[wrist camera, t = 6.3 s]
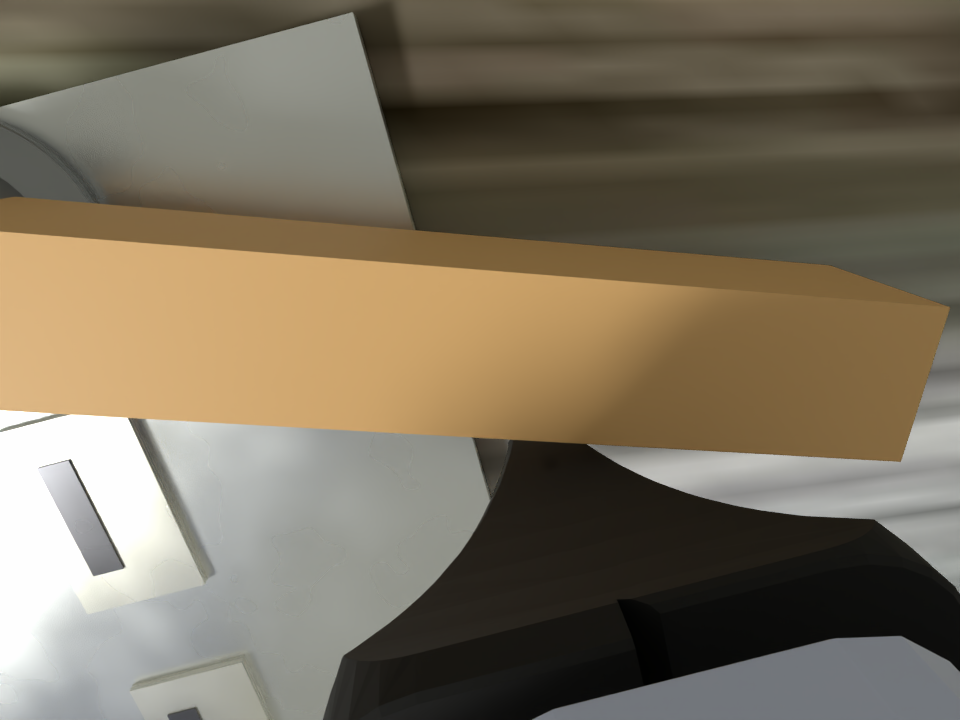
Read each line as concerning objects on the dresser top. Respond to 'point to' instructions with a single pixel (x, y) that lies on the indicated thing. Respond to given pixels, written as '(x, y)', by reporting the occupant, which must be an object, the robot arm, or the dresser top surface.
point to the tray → (214, 446)
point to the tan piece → (449, 334)
